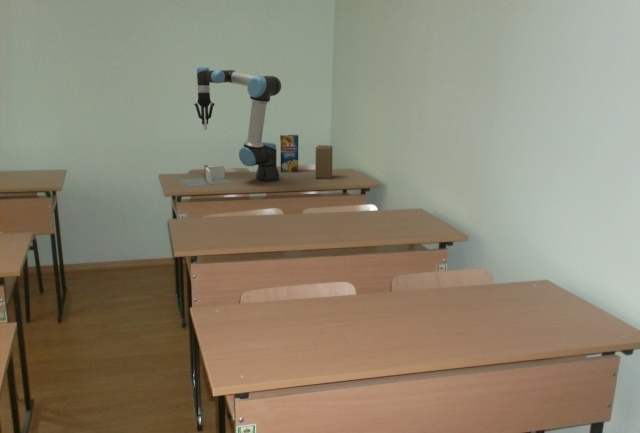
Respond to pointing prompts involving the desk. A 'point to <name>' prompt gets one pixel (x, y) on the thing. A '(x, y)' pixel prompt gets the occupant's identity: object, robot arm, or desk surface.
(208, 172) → the hinged panel
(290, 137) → the juice carton
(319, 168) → the wooden block
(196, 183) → the card
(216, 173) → the fence
